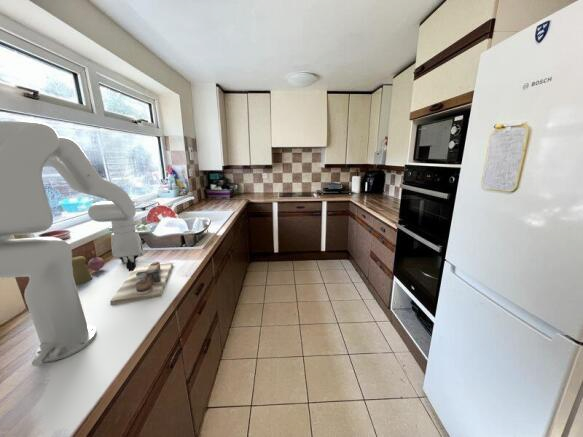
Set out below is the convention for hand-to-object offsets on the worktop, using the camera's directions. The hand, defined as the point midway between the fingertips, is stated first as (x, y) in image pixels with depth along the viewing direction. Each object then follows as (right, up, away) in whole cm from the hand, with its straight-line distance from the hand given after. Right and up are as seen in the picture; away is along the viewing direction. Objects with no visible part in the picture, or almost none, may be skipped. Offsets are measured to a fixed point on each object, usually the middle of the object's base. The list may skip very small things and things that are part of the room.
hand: (132, 269), depth 101 cm
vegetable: (-22, -3, +9) cm, 25 cm away
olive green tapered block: (-22, -5, +1) cm, 22 cm away
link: (+10, -3, -3) cm, 11 cm away
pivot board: (+7, -5, -2) cm, 9 cm away
